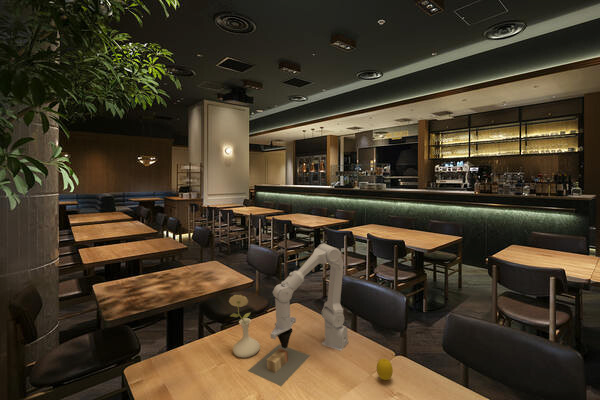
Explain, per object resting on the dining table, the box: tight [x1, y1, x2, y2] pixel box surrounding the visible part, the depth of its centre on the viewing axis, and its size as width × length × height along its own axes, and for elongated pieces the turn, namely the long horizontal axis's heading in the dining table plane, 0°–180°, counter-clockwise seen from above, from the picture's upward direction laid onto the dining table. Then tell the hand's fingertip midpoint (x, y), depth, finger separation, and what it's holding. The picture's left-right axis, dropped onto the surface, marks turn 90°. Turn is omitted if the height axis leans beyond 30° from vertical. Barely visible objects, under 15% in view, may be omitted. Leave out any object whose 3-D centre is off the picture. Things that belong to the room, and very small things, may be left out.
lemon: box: [376, 358, 394, 381], centre depth 105 cm, size 6×6×8 cm
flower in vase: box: [228, 294, 261, 358], centre depth 124 cm, size 13×11×25 cm
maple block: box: [267, 348, 288, 373], centre depth 115 cm, size 4×4×8 cm
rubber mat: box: [247, 343, 311, 387], centre depth 116 cm, size 16×20×1 cm
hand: (284, 346), depth 118 cm, fingers closed
